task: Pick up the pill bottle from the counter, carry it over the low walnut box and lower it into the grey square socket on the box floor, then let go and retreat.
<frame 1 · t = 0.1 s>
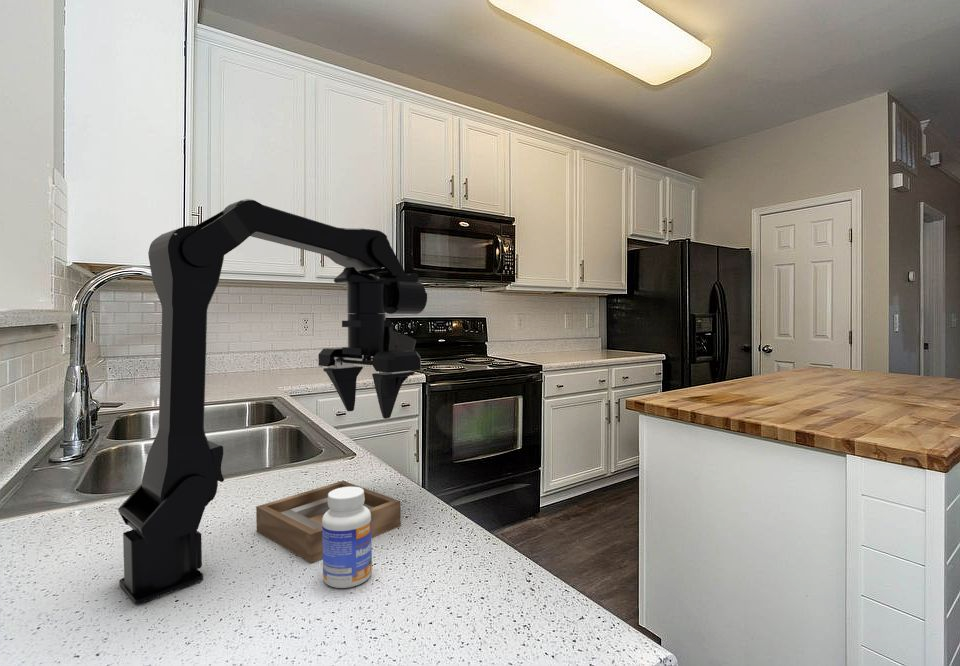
hand: (367, 414, 75), 15 cm above the worktop, fingers open, 9 cm apart
walnut box: (329, 528, 68), on the worktop
pill bottle: (347, 578, 55), on the worktop
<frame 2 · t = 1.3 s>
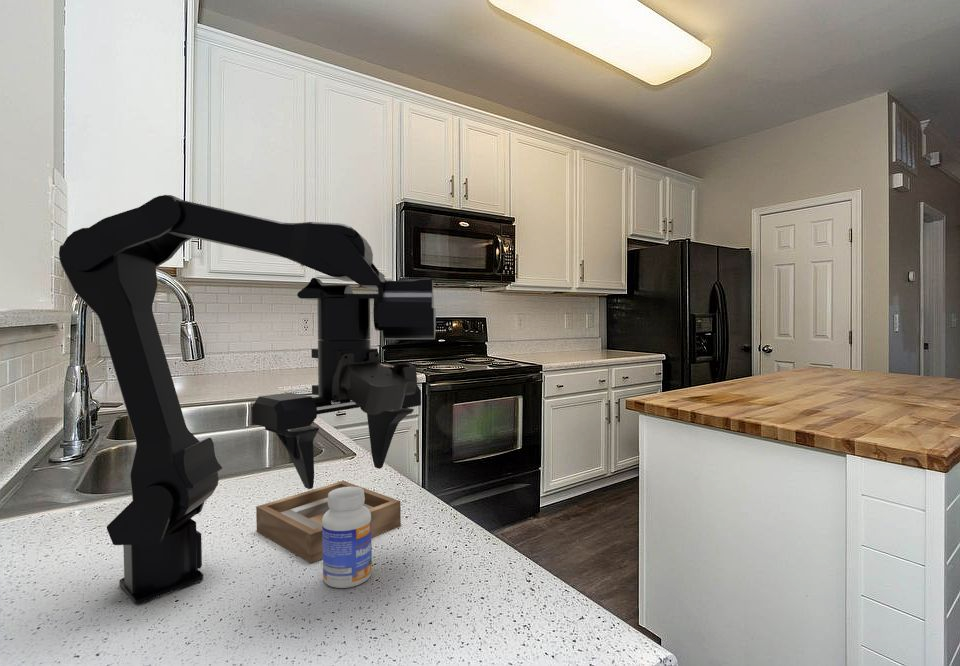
hand: (345, 477, 55), 11 cm above the worktop, fingers open, 9 cm apart
nothing on the worktop moved.
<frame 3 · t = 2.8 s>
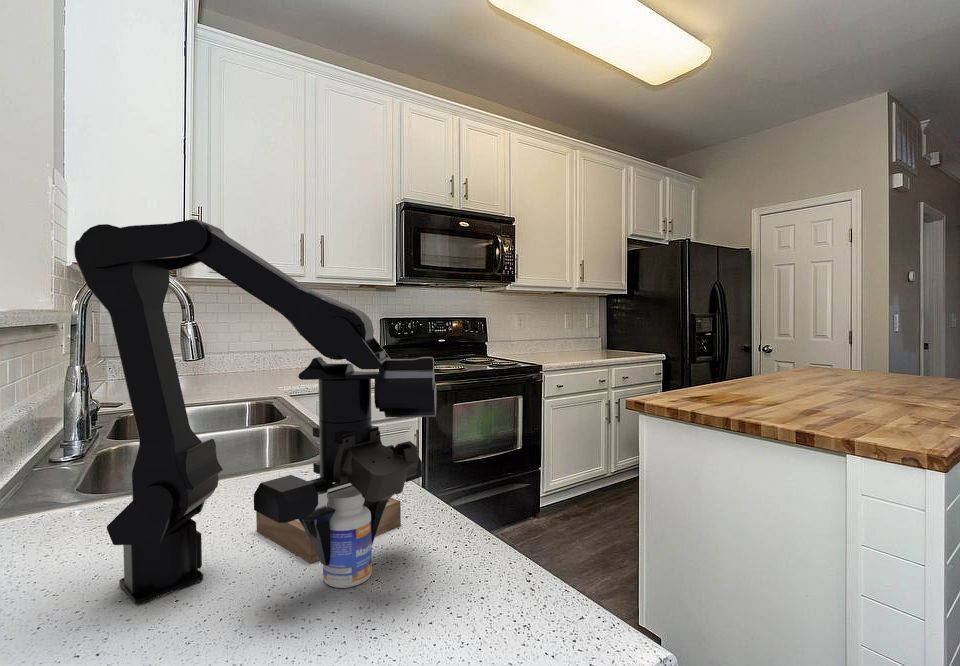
hand: (347, 554, 55), 3 cm above the worktop, fingers closed on pill bottle, 5 cm apart
pill bottle: (347, 578, 55), on the worktop, touching gripper
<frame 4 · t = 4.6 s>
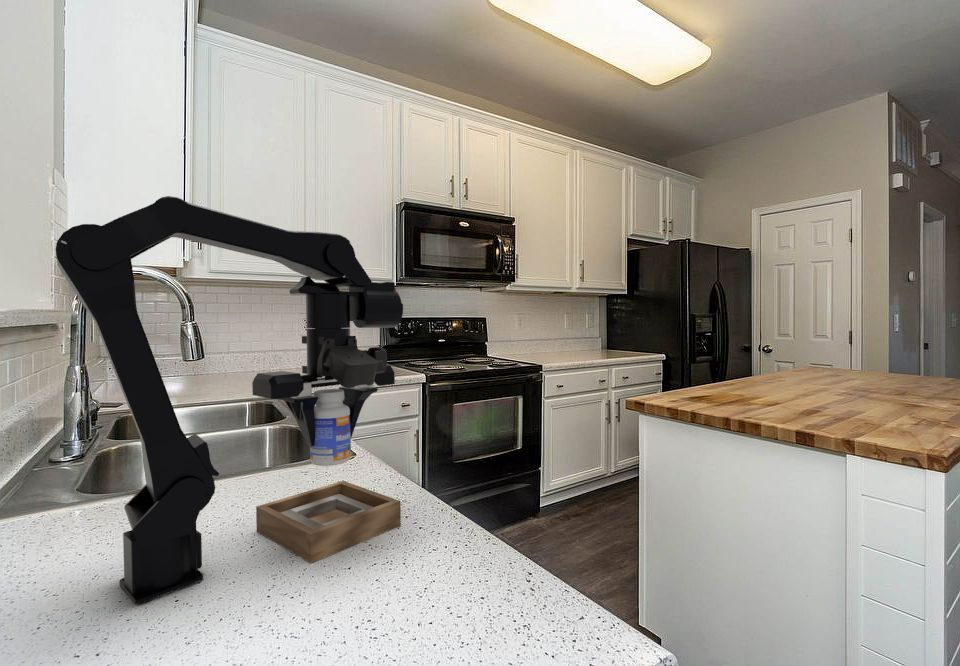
hand: (330, 441, 67), 12 cm above the worktop, fingers closed on pill bottle, 5 cm apart
pill bottle: (331, 462, 67), point 10 cm above the worktop, touching gripper
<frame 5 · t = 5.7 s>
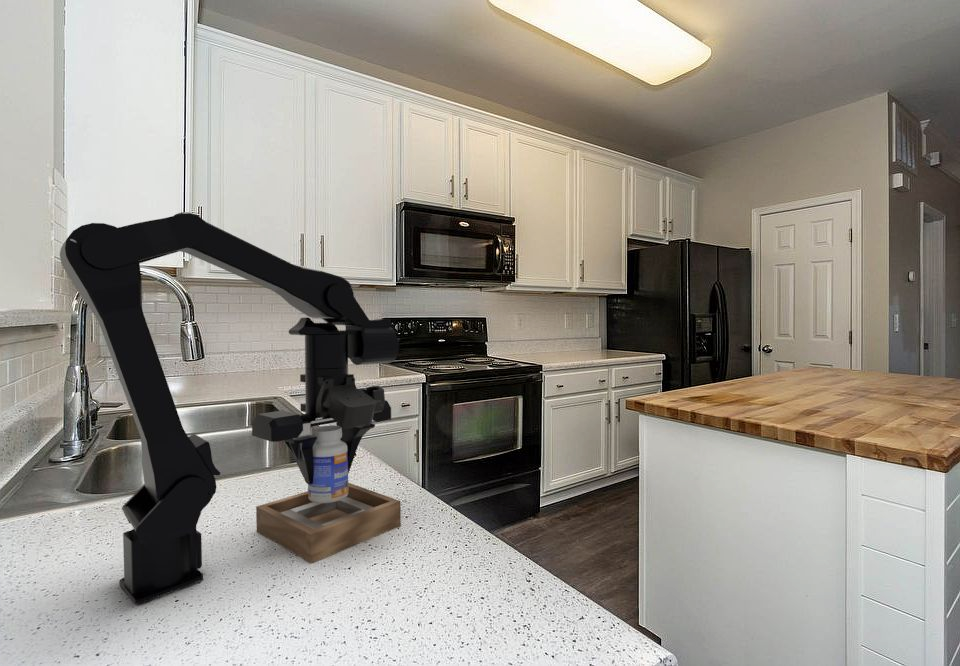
hand: (327, 478, 68), 7 cm above the worktop, fingers closed on pill bottle, 5 cm apart
pill bottle: (328, 498, 68), point 4 cm above the worktop, touching gripper
when the fingers open (4 cm above the worktop, at t = 6.6 s): pill bottle stays where it is, resting on walnut box.
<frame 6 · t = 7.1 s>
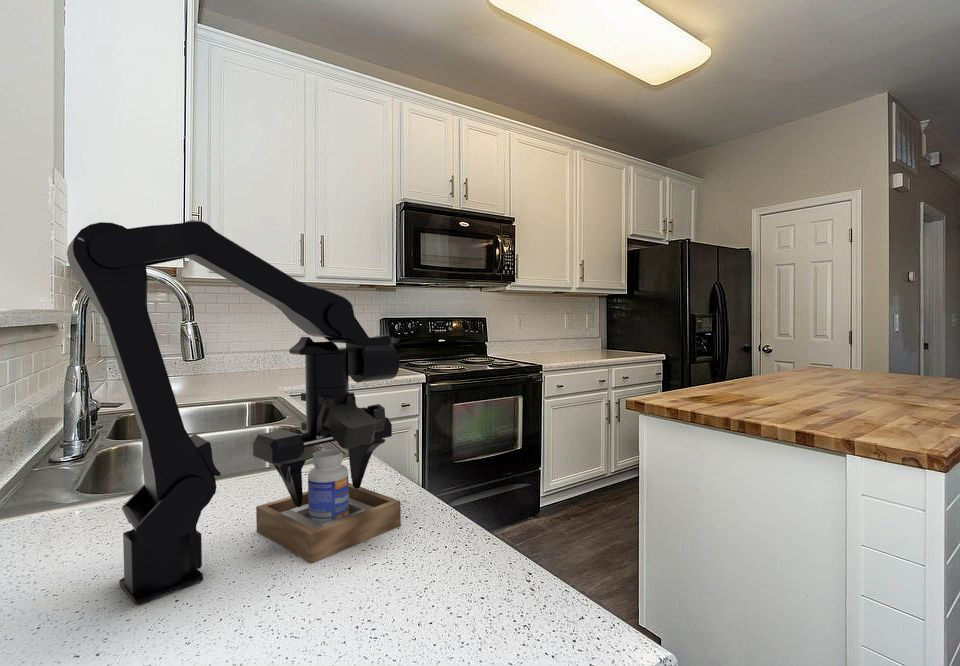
hand: (328, 496, 68), 4 cm above the worktop, fingers open, 9 cm apart
pill bottle: (329, 522, 68), point 1 cm above the worktop, touching walnut box
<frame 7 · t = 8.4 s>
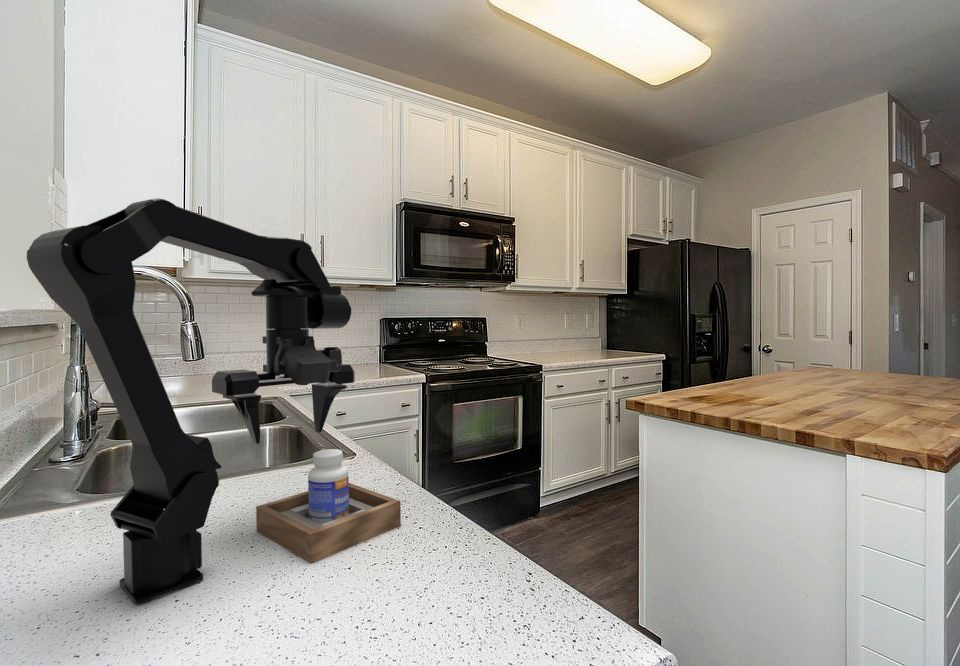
hand: (289, 437, 70), 12 cm above the worktop, fingers open, 9 cm apart
nothing on the worktop moved.
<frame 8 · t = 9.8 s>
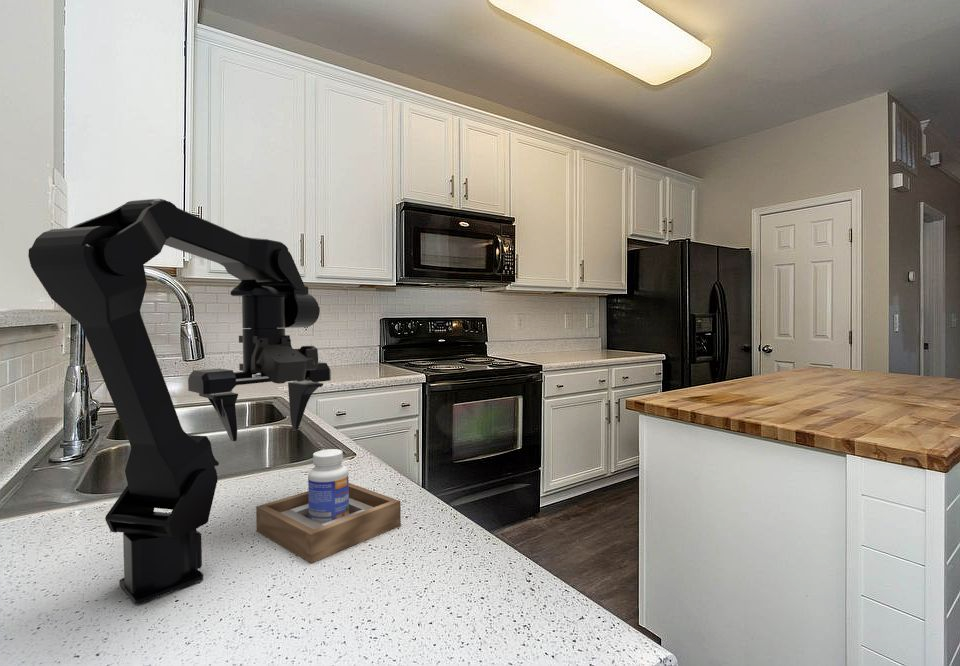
hand: (266, 434, 71), 12 cm above the worktop, fingers open, 9 cm apart
nothing on the worktop moved.
at the end: pill bottle 0.1 cm off-centre on the walnut box, point 0.8 cm above the walnut box's base; pill bottle tilted 0°; the gripper is holding nothing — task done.
